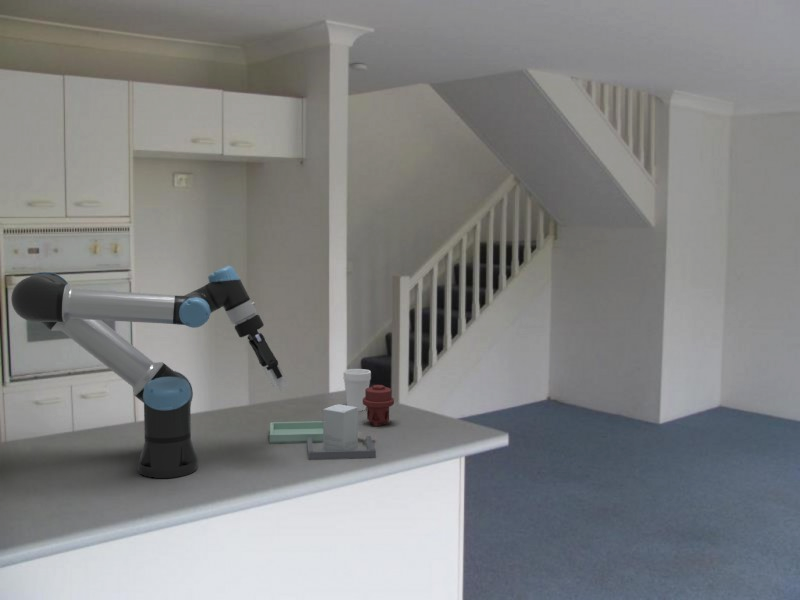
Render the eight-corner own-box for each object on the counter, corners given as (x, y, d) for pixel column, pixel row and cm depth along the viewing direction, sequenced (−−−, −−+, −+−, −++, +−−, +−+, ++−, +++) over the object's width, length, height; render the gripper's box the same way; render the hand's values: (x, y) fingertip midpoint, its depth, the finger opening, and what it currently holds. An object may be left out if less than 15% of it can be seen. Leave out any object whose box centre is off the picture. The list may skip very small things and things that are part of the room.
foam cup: (340, 411, 280) (340, 373, 278) (346, 404, 289) (346, 368, 287) (367, 412, 278) (368, 375, 277) (373, 406, 287) (373, 369, 286)
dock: (308, 459, 227) (308, 452, 227) (307, 444, 241) (307, 437, 241) (375, 457, 230) (375, 450, 229) (369, 442, 244) (370, 436, 244)
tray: (269, 443, 241) (269, 435, 241) (270, 430, 255) (270, 422, 255) (338, 441, 244) (338, 433, 244) (335, 429, 258) (335, 420, 257)
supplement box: (358, 450, 236) (359, 407, 235) (343, 456, 230) (343, 412, 229) (337, 445, 240) (338, 403, 239) (322, 452, 234) (322, 408, 233)
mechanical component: (396, 421, 269) (390, 429, 259) (366, 418, 271) (359, 426, 261) (397, 383, 267) (390, 390, 257) (367, 381, 269) (359, 388, 259)
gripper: (263, 312, 218) (300, 382, 220) (252, 313, 242) (286, 377, 244) (237, 325, 216) (275, 396, 218) (229, 326, 240) (263, 390, 242)
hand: (281, 386), depth 231 cm, fingers open, 13 cm apart
